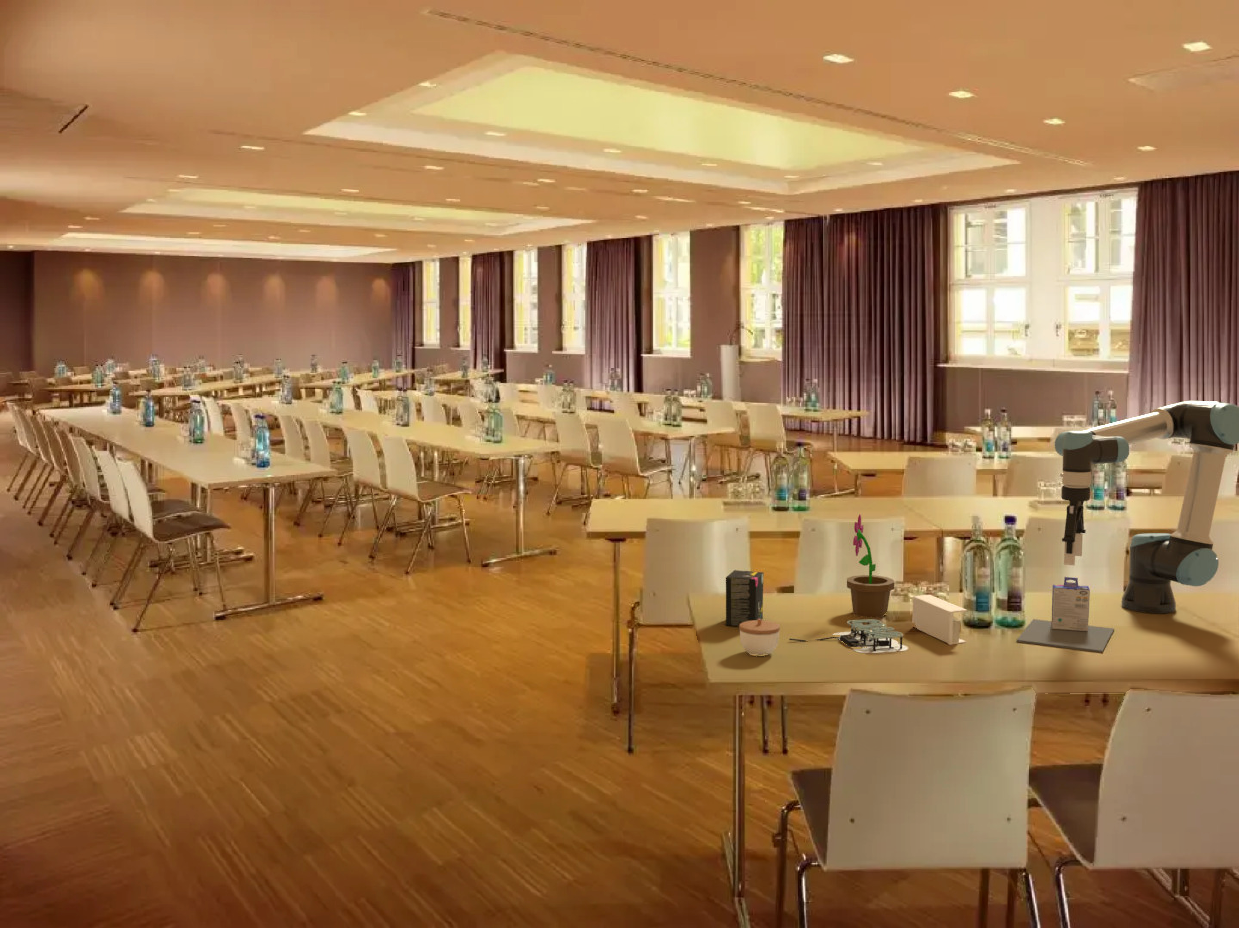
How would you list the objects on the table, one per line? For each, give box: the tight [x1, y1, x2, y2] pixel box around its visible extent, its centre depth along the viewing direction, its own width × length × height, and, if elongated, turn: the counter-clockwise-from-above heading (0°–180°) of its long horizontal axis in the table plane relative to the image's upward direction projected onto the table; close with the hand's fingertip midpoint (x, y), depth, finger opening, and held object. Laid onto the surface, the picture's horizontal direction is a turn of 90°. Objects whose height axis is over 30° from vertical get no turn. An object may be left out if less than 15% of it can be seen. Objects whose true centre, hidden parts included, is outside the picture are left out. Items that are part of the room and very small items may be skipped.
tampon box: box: [725, 569, 764, 627], centre depth 337 cm, size 11×9×15 cm
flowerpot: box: [846, 514, 895, 619], centre depth 346 cm, size 14×14×30 cm
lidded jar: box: [738, 619, 781, 655], centre depth 306 cm, size 11×11×9 cm
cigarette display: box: [911, 594, 968, 646], centre depth 324 cm, size 20×6×9 cm, turn 17°
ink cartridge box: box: [1051, 576, 1091, 631], centre depth 326 cm, size 10×6×14 cm, turn 73°
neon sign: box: [788, 618, 909, 654], centre depth 315 cm, size 21×4×29 cm
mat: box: [1016, 618, 1115, 654], centre depth 321 cm, size 25×22×1 cm
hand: (1073, 560), depth 325 cm, fingers open, 13 cm apart
